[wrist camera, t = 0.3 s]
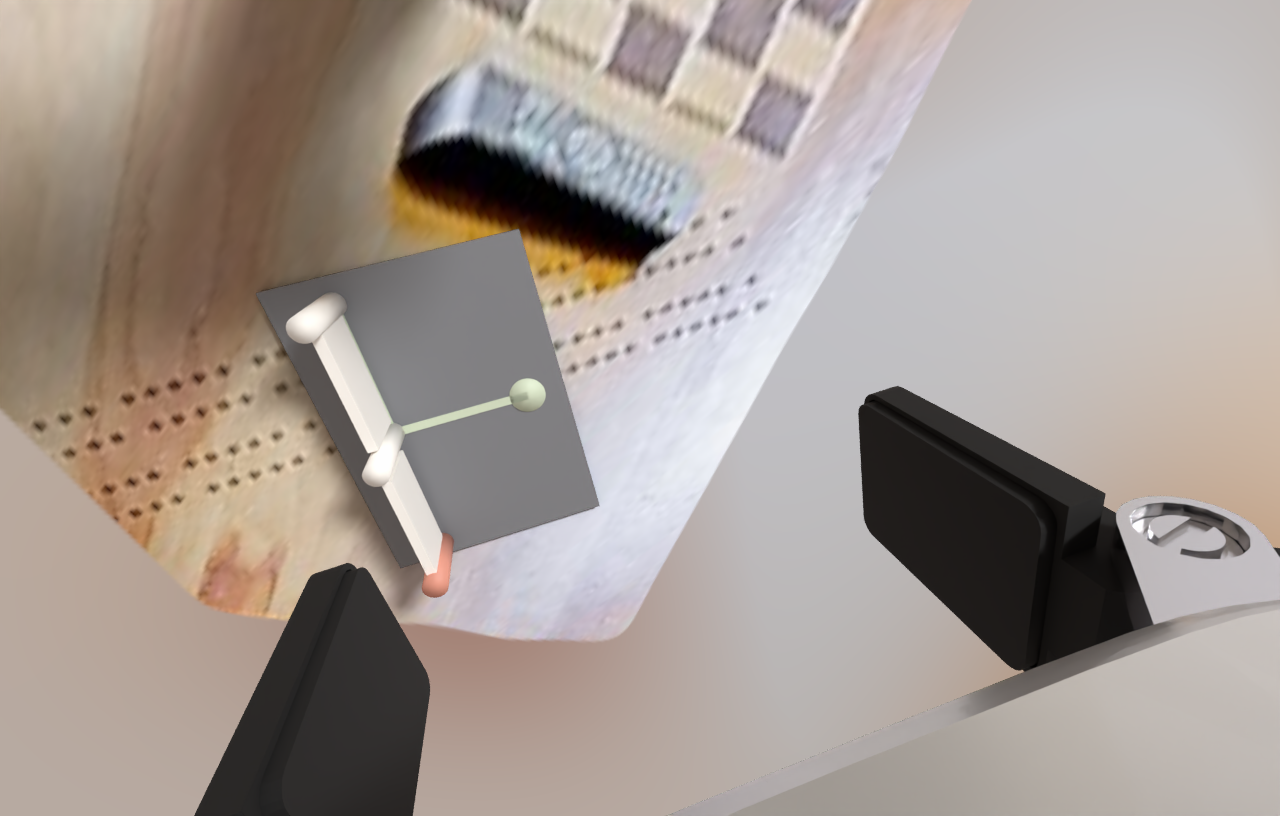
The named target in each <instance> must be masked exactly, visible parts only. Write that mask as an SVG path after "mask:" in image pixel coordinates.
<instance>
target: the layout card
mask: <svg viewBox="0 0 1280 816" xmlns="http://www.w3.org/2000/svg"><path fill="white" fill-rule="evenodd" d="M329 292H334V293H337V294H339V295H341V296H342V297H343V298H344V299H345V301H346V303H347V309H346V312H345V313H344V314H343V315H342V316H343V318H344V320H345V323H346V325H347V327H348V329H349V331H350V333H351V336H352V338H353V340H354V342H355V344H356V346H357V349H358V351H359V353H360V355H361V357H362V359H363V361H364V364H365V366H366V368H367V370H368V372H369V374H370V377H371V379H372V381H373V383H374V385H375V387H376V389H377V392H378V394H379V396H380V398H381V400H382V402H383V405H384V407H385V409H386V411H387V413H388V415H389V418H390V420H391V423H390V424H393V423H396V424H399V425H401V426H402V428H403V429H404V431H405V437H404V440H403V442H402V445H401V448H400V451H401V450H403V452H404V454H405V456H406V458H407V460H408V462H409V464H410V467H411V469H412V471H413V473H414V475H415V477H416V480H417V482H418V484H419V486H420V488H421V490H422V492H423V495H424V497H425V499H426V501H427V503H428V505H429V507H430V510H431V512H432V514H433V516H434V518H435V520H436V522H437V525H438V527H439V529H440V531H441V533H447V534H449V535H451V536H452V537H453V539H454V545H453V552H454V551H457V550H460V549H463V548H467V547H470V546H473V545H476V544H479V543H483V542H486V541H489V540H492V539H495V538H498V537H502V536H505V535H508V534H511V533H514V532H518V531H521V530H524V529H527V528H530V527H534V526H537V525H540V524H543V523H546V522H550V521H553V520H556V519H559V518H562V517H565V516H569V515H572V514H575V513H578V512H581V511H585V510H588V509H591V508H594V507H597V506H600V505H599V502H598V498H597V495H596V492H595V488H594V485H593V481H592V478H591V474H590V471H589V468H588V464H587V461H586V457H585V454H584V450H583V447H582V444H581V440H580V437H579V433H578V430H577V427H576V423H575V420H574V416H573V413H572V409H571V406H570V403H569V399H568V396H567V392H566V389H565V385H564V382H563V379H562V375H561V372H560V368H559V365H558V361H557V358H556V355H555V351H554V348H553V344H552V341H551V337H550V334H549V331H548V327H547V324H546V320H545V317H544V313H543V310H542V307H541V303H540V300H539V296H538V293H537V289H536V286H535V283H534V279H533V276H532V272H531V269H530V265H529V262H528V259H527V255H526V252H525V248H524V245H523V242H522V238H521V235H520V231H519V229H516V230H512V231H508V232H504V233H499V234H495V235H491V236H487V237H483V238H479V239H475V240H471V241H466V242H462V243H458V244H454V245H450V246H446V247H442V248H438V249H434V250H429V251H425V252H421V253H417V254H413V255H409V256H405V257H401V258H397V259H392V260H388V261H384V262H380V263H376V264H372V265H368V266H364V267H360V268H355V269H351V270H347V271H343V272H339V273H335V274H331V275H327V276H322V277H318V278H314V279H310V280H306V281H302V282H298V283H294V284H290V285H285V286H281V287H277V288H273V289H269V290H265V291H261V292H258V293H256V295H257V297H258V299H259V301H260V303H261V305H262V307H263V308H264V310H265V312H266V314H267V316H268V318H269V320H270V322H271V324H272V326H273V327H274V329H275V331H276V333H277V335H278V337H279V339H280V341H281V343H282V345H283V346H284V348H285V350H286V352H287V354H288V356H289V358H290V360H291V362H292V363H293V365H294V367H295V369H296V371H297V373H298V375H299V377H300V379H301V381H302V382H303V384H304V386H305V388H306V390H307V392H308V394H309V396H310V398H311V399H312V401H313V403H314V405H315V407H316V409H317V411H318V413H319V415H320V417H321V418H322V420H323V422H324V424H325V426H326V428H327V430H328V432H329V434H330V435H331V437H332V439H333V441H334V443H335V445H336V447H337V449H338V451H339V453H340V454H341V456H342V458H343V460H344V462H345V464H346V466H347V468H348V470H349V471H350V473H351V475H352V477H353V479H354V481H355V483H356V485H357V487H358V489H359V490H360V492H361V494H362V496H363V498H364V500H365V502H366V504H367V506H368V507H369V509H370V511H371V513H372V515H373V517H374V519H375V521H376V523H377V525H378V526H379V528H380V530H381V532H382V534H383V536H384V538H385V540H386V542H387V543H388V545H389V547H390V549H391V551H392V553H393V555H394V557H395V559H396V561H397V562H398V564H399V566H400V568H403V567H406V566H409V565H412V564H416V563H419V562H420V561H419V559H418V557H417V555H416V553H415V551H414V549H413V547H412V545H411V543H410V541H409V539H408V537H407V535H406V533H405V531H404V529H403V527H402V525H401V523H400V521H399V519H398V517H397V515H396V513H395V511H394V509H393V508H392V506H391V504H390V502H389V500H388V498H387V496H386V494H385V492H384V490H383V488H382V486H380V487H373V486H370V485H368V484H366V483H365V482H364V480H363V478H362V472H363V470H364V468H365V466H366V464H367V461H368V459H369V457H370V455H371V453H367V451H366V449H365V447H364V445H363V443H362V441H361V439H360V437H359V435H358V433H357V431H356V429H355V427H354V425H353V423H352V421H351V419H350V417H349V415H348V413H347V411H346V409H345V407H344V405H343V403H342V401H341V399H340V397H339V395H338V393H337V391H336V389H335V387H334V385H333V383H332V381H331V379H330V377H329V375H328V373H327V371H326V369H325V367H324V365H323V363H322V361H321V359H320V357H319V355H318V353H317V351H316V349H315V347H314V345H313V343H312V342H311V343H308V344H302V343H298V342H296V341H294V340H293V339H291V338H290V337H289V335H288V334H287V331H286V323H287V321H288V320H289V319H290V318H291V317H293V316H294V315H296V314H297V313H298V312H300V311H301V310H303V309H304V308H305V307H307V306H308V305H310V304H311V303H313V302H314V301H315V300H317V299H318V298H320V297H321V296H322V295H324V294H326V293H329Z"/></svg>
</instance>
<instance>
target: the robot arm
mask: <svg viewBox="0 0 1280 816" xmlns="http://www.w3.org/2000/svg"><path fill="white" fill-rule="evenodd" d="M858 415H859V433H860V453H861V472H862V491H863V508H864V520H865V523H866V525H867V528H868V529H869V531H870V533H871V534H872V535H873V536H874V537H875V538H876V539H877V540H878V541H879V542H880V543H881V544H882V545H883V546H884V547H885V548H886V549H887V550H888V551H889V552H891V553H892V554H893V555H894V556H895V557H896V558H897V559H898V560H899V561H900V562H901V563H902V564H903V565H904V566H905V567H906V568H907V569H908V570H909V571H910V572H911V573H912V574H914V576H916V577H917V578H918V579H919V580H920V581H921V582H922V583H923V584H924V585H925V586H926V587H927V588H928V589H929V590H930V591H931V592H932V593H933V594H934V595H935V596H936V597H938V599H939V600H941V601H942V602H943V603H944V604H945V605H946V606H947V607H948V608H949V609H950V610H951V611H952V612H953V613H954V614H955V615H956V616H957V617H958V618H959V619H960V620H961V621H962V622H963V623H964V624H965V625H967V626H968V627H969V628H970V629H971V630H972V631H973V632H974V633H975V634H976V635H977V636H978V637H979V638H980V639H981V640H982V641H983V642H984V643H985V644H986V645H987V646H988V647H989V648H990V649H991V650H992V651H994V652H995V653H996V654H997V655H998V656H999V657H1000V658H1001V659H1002V660H1003V661H1004V662H1005V663H1006V664H1007V665H1009V666H1010V667H1011V668H1013V669H1015V670H1023V671H1025V672H1023V673H1021V674H1018V675H1016V676H1013V677H1010V678H1008V679H1005V680H1003V681H1000V682H998V683H995V684H993V685H990V686H988V687H985V688H983V689H980V690H978V691H975V692H973V693H970V694H968V695H965V696H963V697H960V698H958V699H955V700H953V701H950V702H947V703H945V704H943V705H940V706H937V707H935V708H932V709H930V710H927V711H925V712H922V713H920V714H918V715H915V716H912V717H910V718H907V719H905V720H902V721H900V722H897V723H895V724H892V725H890V726H887V727H885V728H882V729H880V730H877V731H875V732H872V733H870V734H867V735H865V736H862V737H860V738H857V739H855V740H852V741H850V742H847V743H845V744H842V745H840V746H837V747H835V748H832V749H830V750H827V751H825V752H822V753H820V754H818V755H815V756H812V757H810V758H808V759H805V760H803V761H800V762H798V763H795V764H793V765H790V766H788V767H785V768H783V769H781V770H778V771H775V772H773V773H771V774H768V775H765V776H763V777H761V778H758V779H756V780H753V781H751V782H748V783H746V784H743V785H741V786H738V787H736V788H733V789H731V790H728V791H726V792H724V793H721V794H719V795H716V796H714V797H711V798H709V799H706V800H704V801H701V802H699V803H696V804H694V805H692V806H689V807H687V808H684V809H682V810H679V811H677V812H675V813H672V814H670V815H667V816H1280V548H1273V547H1272V545H1271V544H1270V542H1269V541H1268V539H1267V538H1266V536H1265V535H1263V533H1262V532H1261V531H1260V530H1259V529H1258V528H1257V527H1256V526H1255V525H1254V524H1252V523H1250V522H1249V521H1247V520H1246V519H1244V518H1242V517H1240V516H1239V515H1237V514H1235V513H1233V512H1231V511H1228V510H1226V509H1223V508H1221V507H1218V506H1216V505H1212V504H1209V503H1204V502H1201V501H1197V500H1193V499H1187V498H1180V497H1173V496H1148V497H1143V498H1137V499H1133V500H1131V501H1129V502H1127V503H1124V504H1122V505H1121V507H1120V508H1119V510H1118V511H1117V512H1116V513H1115V512H1113V511H1111V510H1110V509H1108V508H1106V507H1104V506H1103V505H1104V499H1105V493H1103V492H1102V491H1100V490H1098V489H1096V488H1094V487H1092V486H1090V485H1088V484H1086V483H1084V482H1082V481H1080V480H1079V479H1077V478H1075V477H1072V476H1071V475H1069V474H1067V473H1065V472H1063V471H1061V470H1059V469H1057V468H1055V467H1054V466H1052V465H1050V464H1048V463H1046V462H1044V461H1042V460H1040V459H1038V458H1036V457H1034V456H1033V455H1031V454H1028V453H1027V452H1025V451H1023V450H1021V449H1019V448H1017V447H1015V446H1013V445H1011V444H1009V443H1008V442H1006V441H1004V440H1002V439H1000V438H998V437H996V436H994V435H992V434H990V433H988V432H986V431H984V430H983V429H980V428H979V427H976V426H975V425H973V424H971V423H969V422H967V421H965V420H963V419H961V418H960V417H958V416H956V415H954V414H952V413H950V412H948V411H946V410H944V409H942V408H940V407H938V406H937V405H935V404H933V403H931V402H929V401H927V400H925V399H923V398H921V397H919V396H917V395H915V394H913V393H912V392H910V391H908V390H906V389H904V388H902V387H899V386H896V387H892V388H889V389H886V390H883V391H879V392H876V393H873V394H870V395H868V396H867V397H866V399H865V403H864V405H861V406H860V408H859V413H858ZM429 696H430V684H429V678H428V675H427V672H426V670H425V668H424V667H423V665H422V663H421V661H420V660H419V658H418V656H417V655H416V653H415V651H414V649H413V647H412V646H411V644H410V642H409V641H408V639H407V637H406V635H405V634H404V632H403V630H402V629H401V627H400V625H399V623H398V621H397V620H396V618H395V616H394V615H393V613H392V611H391V609H390V608H389V606H388V604H387V602H386V601H385V599H384V597H383V595H382V594H381V592H380V590H379V589H378V587H377V585H376V583H375V582H374V580H373V578H372V576H371V575H370V573H369V572H368V570H367V569H365V568H363V567H361V568H358V569H356V567H355V566H354V565H352V564H350V563H346V564H343V565H340V566H337V567H334V568H331V569H328V570H324V571H321V572H318V573H315V574H313V575H312V576H311V577H310V578H309V580H308V582H307V584H306V586H305V588H304V590H303V592H302V594H301V596H300V598H299V600H298V602H297V604H296V607H295V609H294V611H293V613H292V615H291V617H290V619H289V621H288V623H287V625H286V627H285V629H284V631H283V633H282V636H281V637H280V640H279V642H278V644H277V646H276V648H275V650H274V652H273V654H272V656H271V658H270V660H269V663H268V664H267V666H266V669H265V671H264V673H263V675H262V677H261V679H260V681H259V683H258V685H257V687H256V690H255V691H254V693H253V696H252V697H251V700H250V702H249V704H248V706H247V708H246V710H245V712H244V714H243V716H242V718H241V720H240V722H239V725H238V727H237V729H236V730H235V733H234V735H233V737H232V739H231V741H230V743H229V745H228V747H227V749H226V751H225V753H224V755H223V757H222V760H221V761H220V764H219V766H218V768H217V770H216V772H215V774H214V776H213V778H212V780H211V783H210V784H209V786H208V788H207V790H206V792H205V795H204V797H203V799H202V801H201V803H200V805H199V807H198V809H197V811H196V813H195V815H194V816H413V809H414V802H415V795H416V788H417V781H418V773H419V767H420V759H421V752H422V746H423V738H424V731H425V724H426V717H427V709H428V703H429Z"/></svg>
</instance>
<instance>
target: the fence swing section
mask: <svg viewBox="0 0 1280 816" xmlns="http://www.w3.org/2000/svg"><path fill="white" fill-rule="evenodd" d="M382 488H383V490H384V492H385V494H386V496H387V498H388V500H389V502H390V504H391V506H392V508H393V509H394V511H395V513H396V515H397V517H398V519H399V521H400V523H401V525H402V527H403V529H404V531H405V533H406V535H407V537H408V539H409V541H410V543H411V545H412V547H413V549H414V551H415V553H416V555H417V557H418V559H419V561H420V563H421V565H422V567H423V569H424V571H425V574H424V579H423V585H422V591H423V593H424V594H425V595H427V596H429V597H433V598H435V597H440V596H442V595H444V594H445V593H446V592H447V590H448V586H449V578H450V570H451V562H452V554H453V545H454V539H453V537H452V536H451V535H449V534H447V533H441V531H440V529H439V527H438V525H437V522H436V520H435V518H434V516H433V514H432V512H431V510H430V507H429V505H428V503H427V501H426V499H425V497H424V495H423V492H422V490H421V488H420V486H419V484H418V482H417V480H416V477H415V475H414V473H413V471H412V469H411V467H410V464H409V462H408V460H407V458H406V456H405V454H404V452H403V450H401V451H399V454H398V456H397V459H396V462H395V465H394V468H393V470H392V473H391V476H390V479H389V481H388V482H387V483H386V484H385V485H383V486H382Z"/></svg>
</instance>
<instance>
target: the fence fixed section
mask: <svg viewBox="0 0 1280 816" xmlns="http://www.w3.org/2000/svg"><path fill="white" fill-rule="evenodd" d="M346 309H347V303H346V301H345V299H344V298H343V297H342V296H341V295H339V294H337V293H334V292H329V293H326V294H324V295H322V296H321V297H320V298H318V299H317V300H315V301H314V302H313V303H311V304H310V305H308V306H307V307H305V308H304V309H303V310H301V311H300V312H298V313H297V314H296V315H294V316H293V317H291V318H290V319H289V320H288V321H287V323H286V331H287V334H288V335H289V337H290V338H291V339H293V340H294V341H296V342H298V343H302V344H308V343H311V342H312V343H313V345H314V347H315V349H316V351H317V353H318V355H319V357H320V359H321V361H322V363H323V365H324V367H325V369H326V371H327V373H328V375H329V377H330V379H331V381H332V383H333V385H334V387H335V389H336V391H337V393H338V395H339V397H340V399H341V401H342V403H343V405H344V407H345V409H346V411H347V413H348V415H349V417H350V419H351V421H352V423H353V425H354V427H355V429H356V431H357V433H358V435H359V437H360V439H361V441H362V443H363V445H364V447H365V449H366V451H367V453H371V455H370V457H369V459H368V461H367V464H366V466H365V468H364V470H363V472H362V478H363V480H364V482H365V483H366V484H368V485H370V486H373V487H380V486H383V485H385V484H386V483H387V482H388V481H389V479H390V476H391V473H392V470H393V468H394V465H395V462H396V459H397V456H398V454H399V451H400V448H401V445H402V442H403V440H404V437H405V431H404V429H403V428H402V426H401V425H399V424H396V423H393V424H390V423H391V420H390V418H389V415H388V413H387V411H386V409H385V407H384V405H383V402H382V400H381V398H380V396H379V394H378V392H377V389H376V387H375V385H374V383H373V381H372V379H371V377H370V374H369V372H368V370H367V368H366V366H365V364H364V361H363V359H362V357H361V355H360V353H359V351H358V349H357V346H356V344H355V342H354V340H353V338H352V336H351V333H350V331H349V329H348V327H347V325H346V323H345V320H344V318H343V316H342V315H343V314H344V313H345V312H346Z"/></svg>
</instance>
